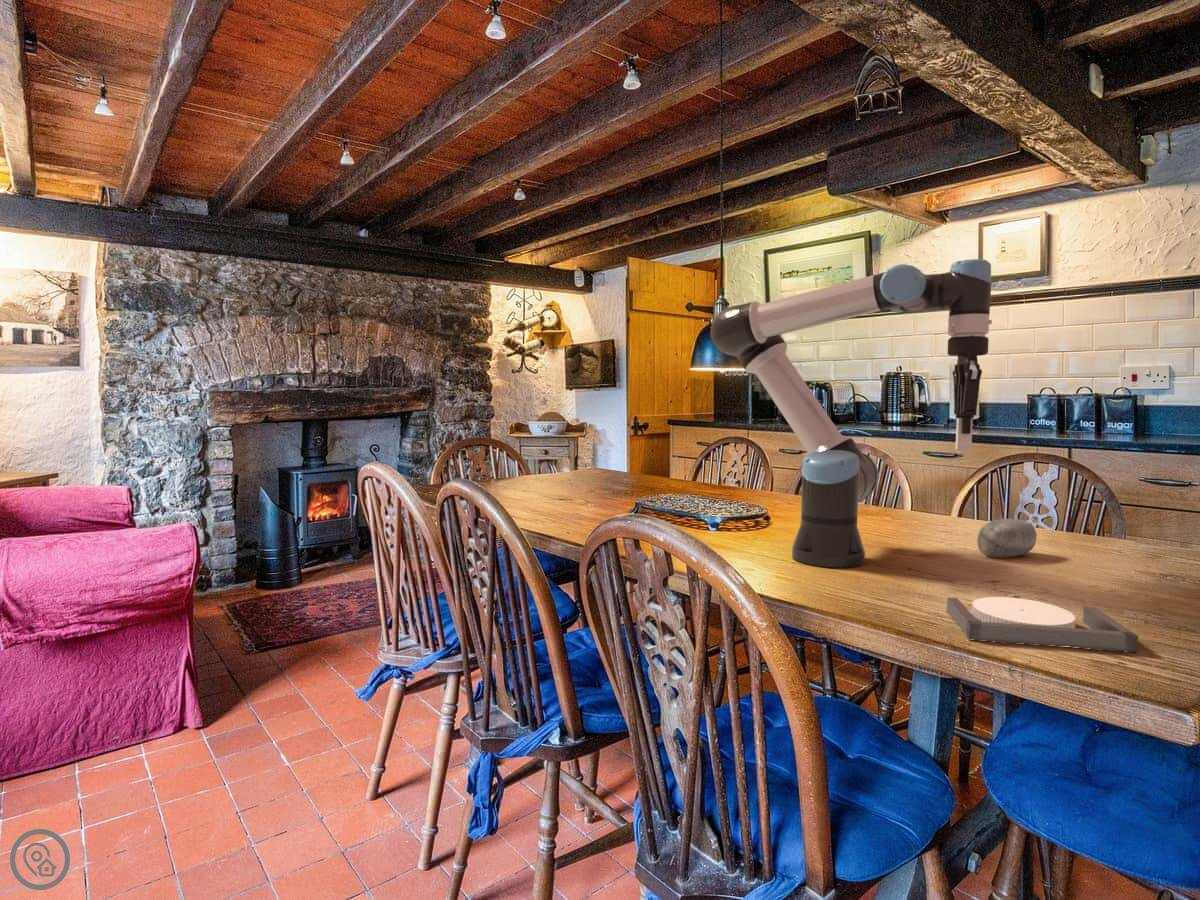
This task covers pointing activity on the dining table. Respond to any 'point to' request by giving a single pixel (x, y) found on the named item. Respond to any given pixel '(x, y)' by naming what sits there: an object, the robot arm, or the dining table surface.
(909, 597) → the dining table surface
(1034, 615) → the plastic lid
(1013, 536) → the grey yarn skein
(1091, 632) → the bracket
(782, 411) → the robot arm
